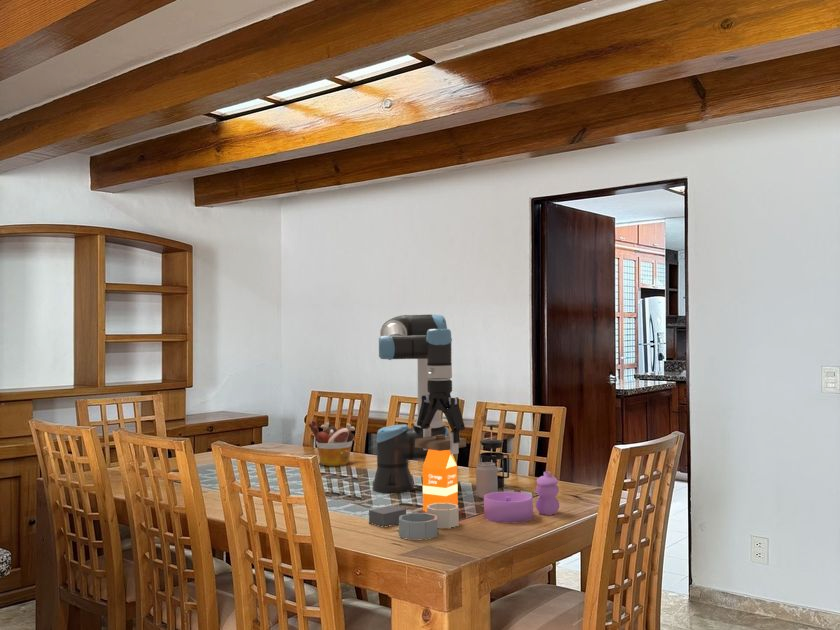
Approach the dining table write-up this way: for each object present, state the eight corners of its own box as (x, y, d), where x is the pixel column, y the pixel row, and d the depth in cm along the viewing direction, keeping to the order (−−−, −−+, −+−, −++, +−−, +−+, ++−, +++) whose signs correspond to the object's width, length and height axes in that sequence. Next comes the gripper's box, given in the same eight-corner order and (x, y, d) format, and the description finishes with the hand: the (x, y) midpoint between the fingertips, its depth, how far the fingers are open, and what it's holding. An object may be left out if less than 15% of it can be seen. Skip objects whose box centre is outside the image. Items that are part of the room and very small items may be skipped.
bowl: (420, 524, 235) (420, 506, 235) (442, 519, 242) (442, 501, 242) (442, 530, 228) (442, 511, 228) (465, 524, 235) (464, 506, 235)
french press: (480, 489, 285) (480, 426, 285) (475, 484, 294) (474, 423, 294) (512, 488, 287) (511, 425, 287) (505, 482, 296) (504, 422, 296)
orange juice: (446, 515, 247) (445, 452, 247) (422, 511, 252) (421, 450, 252) (458, 509, 254) (457, 448, 254) (435, 506, 258) (434, 446, 259)
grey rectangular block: (369, 523, 238) (368, 510, 238) (391, 518, 244) (390, 505, 244) (384, 527, 233) (383, 514, 233) (406, 521, 239) (405, 508, 239)
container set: (495, 525, 234) (494, 481, 234) (476, 513, 249) (476, 472, 249) (569, 518, 242) (568, 475, 242) (547, 507, 256) (546, 467, 256)
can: (496, 500, 267) (496, 465, 267) (475, 499, 268) (474, 464, 269) (498, 495, 274) (498, 461, 274) (477, 494, 276) (477, 461, 276)
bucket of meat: (351, 459, 352) (351, 416, 352) (359, 466, 336) (358, 420, 336) (307, 462, 346) (307, 418, 346) (313, 469, 330) (312, 422, 331)
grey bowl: (391, 535, 224) (391, 517, 224) (419, 527, 232) (419, 511, 232) (417, 542, 216) (417, 524, 216) (445, 534, 224) (445, 517, 224)
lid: (414, 447, 236) (414, 435, 236) (440, 443, 243) (440, 431, 243) (440, 451, 227) (440, 439, 228) (466, 446, 235) (465, 435, 235)
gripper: (404, 378, 242) (405, 449, 241) (458, 381, 225) (459, 457, 224) (422, 377, 247) (423, 446, 246) (476, 380, 230) (477, 454, 229)
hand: (440, 451), depth 235 cm, fingers closed on lid, 11 cm apart
